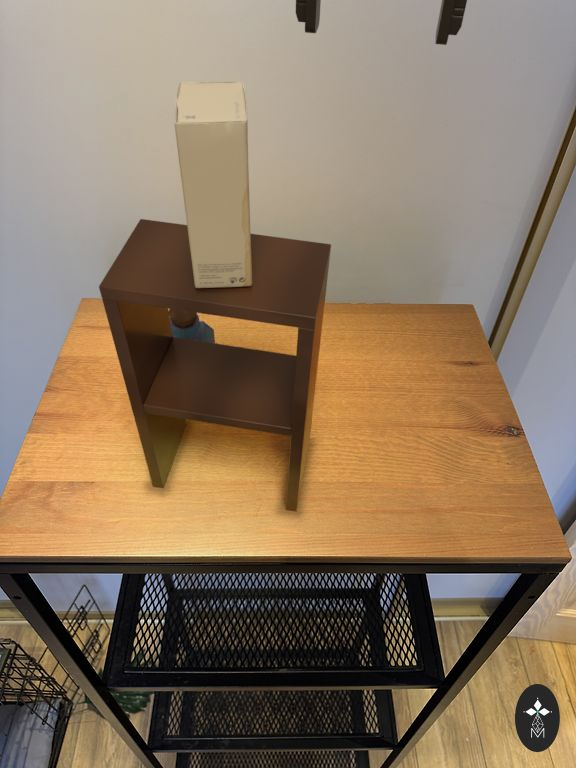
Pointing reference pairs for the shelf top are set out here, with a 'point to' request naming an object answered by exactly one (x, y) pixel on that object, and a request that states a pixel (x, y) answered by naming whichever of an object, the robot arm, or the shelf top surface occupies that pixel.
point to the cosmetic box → (215, 180)
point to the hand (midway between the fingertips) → (376, 35)
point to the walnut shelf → (210, 360)
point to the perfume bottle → (190, 326)
